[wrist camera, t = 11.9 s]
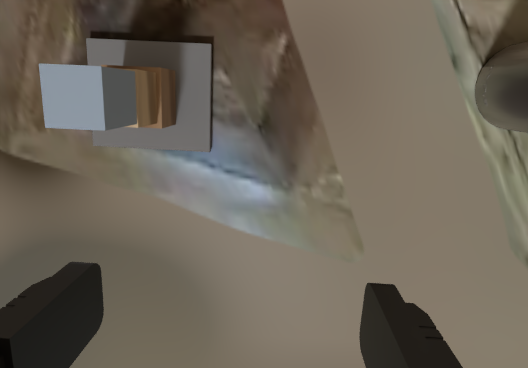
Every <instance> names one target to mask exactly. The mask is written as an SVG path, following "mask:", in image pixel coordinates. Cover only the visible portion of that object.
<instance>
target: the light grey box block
mask: <svg viewBox="0 0 528 368" xmlns="http://www.w3.org/2000/svg"><path fill="white" fill-rule="evenodd" d="M39 70H40V80H41V90H42V100H43V110H44V120H45V128H62V129H82V130H102V131H106V130H111V129H116V128H120V127H125V126H130V125H135V124H137V111H136V86H135V71H129V70H123V69H116V68H109V67H103V66H83V65H60V64H39Z"/></svg>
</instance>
